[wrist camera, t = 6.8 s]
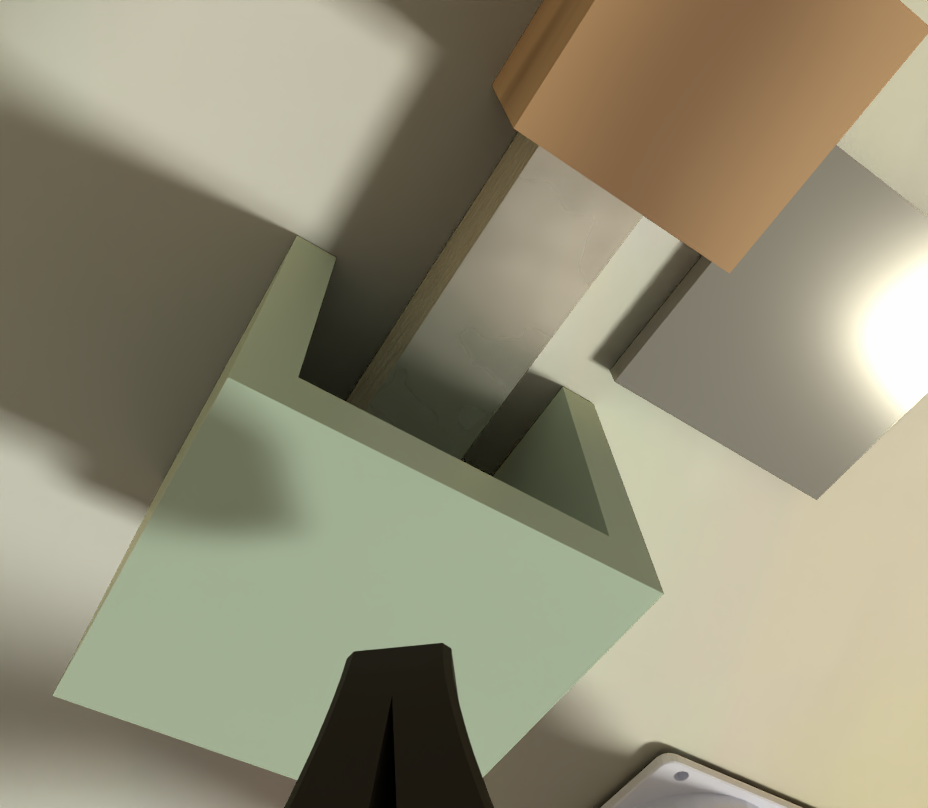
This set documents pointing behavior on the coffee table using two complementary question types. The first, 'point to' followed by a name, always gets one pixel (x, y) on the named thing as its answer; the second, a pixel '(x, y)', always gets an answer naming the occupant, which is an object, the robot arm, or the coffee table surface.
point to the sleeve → (355, 560)
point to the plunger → (493, 298)
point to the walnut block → (702, 100)
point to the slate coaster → (799, 332)
